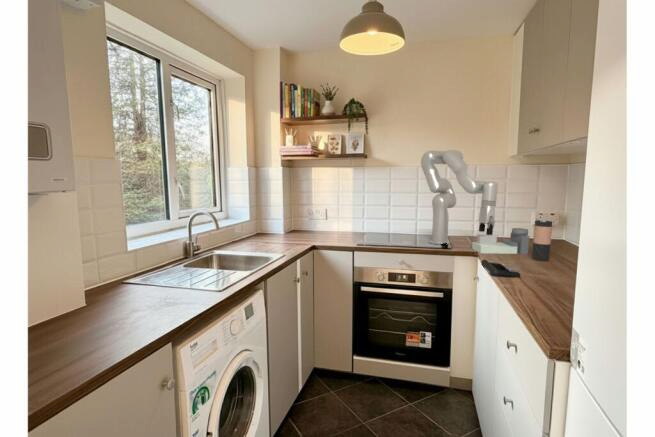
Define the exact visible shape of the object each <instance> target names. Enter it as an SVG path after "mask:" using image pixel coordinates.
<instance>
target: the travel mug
mask: <svg viewBox="0 0 655 437" xmlns="http://www.w3.org/2000/svg"><path fill="white" fill-rule="evenodd" d="M552 232H553V221H551V220H545V221H542V220H540V219H537V220H535V221H534V230H533V239H532V260H535V261H538V260H539V261H540V262H548V261H549V260H550V252H551V251H550V250H551V244H552Z"/></svg>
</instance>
